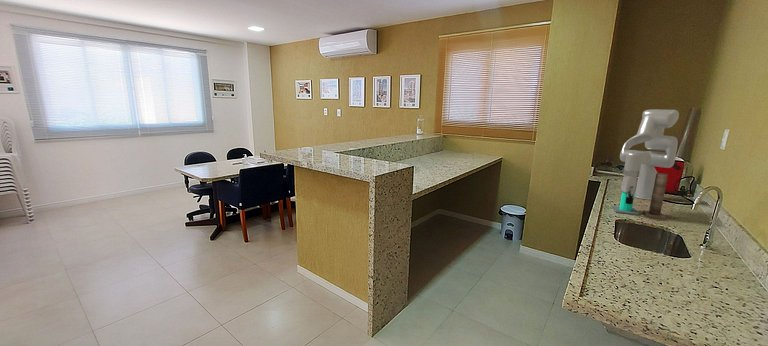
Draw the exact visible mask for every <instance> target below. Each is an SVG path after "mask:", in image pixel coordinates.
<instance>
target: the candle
mask: <svg viewBox="0 0 768 346" xmlns="http://www.w3.org/2000/svg"><path fill="white" fill-rule="evenodd" d="M634 195H635V193H634ZM626 197H627V192H626V193H624V192H623V191H621V197H620V203H619V207H620V208H619V209H620V210H623V211H632V208H633V205H634V202H635V201H634V199H635V197H633V203H632V204H626V203H625V202H626Z"/></svg>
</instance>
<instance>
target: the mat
mask: <svg viewBox="0 0 768 346" xmlns="http://www.w3.org/2000/svg"><path fill="white" fill-rule="evenodd" d="M611 208H612V210H613V211H614V212H615V214H621V215H629V216H630V215H632V216H640V213H639V212H638V211H637V210H636V209H635V208H634V207H632V211H623V210H620V209H619V208H620V205H617V206H616V205H612V206H611Z"/></svg>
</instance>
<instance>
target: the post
mask: <svg viewBox="0 0 768 346" xmlns="http://www.w3.org/2000/svg"><path fill="white" fill-rule="evenodd" d="M668 177H669V174H668V173H662V172H661V173H660V172H657V173H656V177H655V183H654V188H653V193H652V198H651V200H650V205H649V210H643V212H642V213H643V214H644V215H645V216H646V218H649V219H658V220H666V219H667V217H666V215H664V214H663V212H662V207H663V202H664V197H665V193H666V186H667V183H668Z"/></svg>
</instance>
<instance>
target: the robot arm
mask: <svg viewBox="0 0 768 346" xmlns="http://www.w3.org/2000/svg"><path fill="white" fill-rule="evenodd" d="M641 117H642V118H641V120H640V123H639V126H638V130H637V133H636V134H635V135H634V136H631V137H630V138H629V139H628V140H626V142H624V143H623V146H622V147H621V150H620V153H619V160H620V161H621V162H624V167H623V173H622V175H623V179H622V183H621V187H620V190H621V192H624V193H626V192H627V197H626V202H625V203H626V204H632V203H633V204H634V201H633V197H634V198H636V199H640V200H648V201H651V198H652V193H653V188H654V183H655V177H656V173H658V171H657V170H656V168H655V167H659V168H667V169H669V168H670V169H671V168H672V167H674V165H675V161H676V156H677V151H678V144H679V143H678V137H676V136H671V135H664V132H665V129H669V128H672V127H673V126H674V125H675V124H676V123H677V121H678V120H679V118H680V112H679V111H678V110H676V109H659V108H658V109H656V108H655V109H646V110H644V111H642V115H641ZM642 143H644V147H645V148H646V149H647V150H649V151H647V150H646V151H645V150H637V149H630V148H632V147H633V146H636V145H638V144H639V145H640V144H642ZM650 150H654V151H650ZM662 151H664V152H662ZM634 193H635V195H634Z"/></svg>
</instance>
